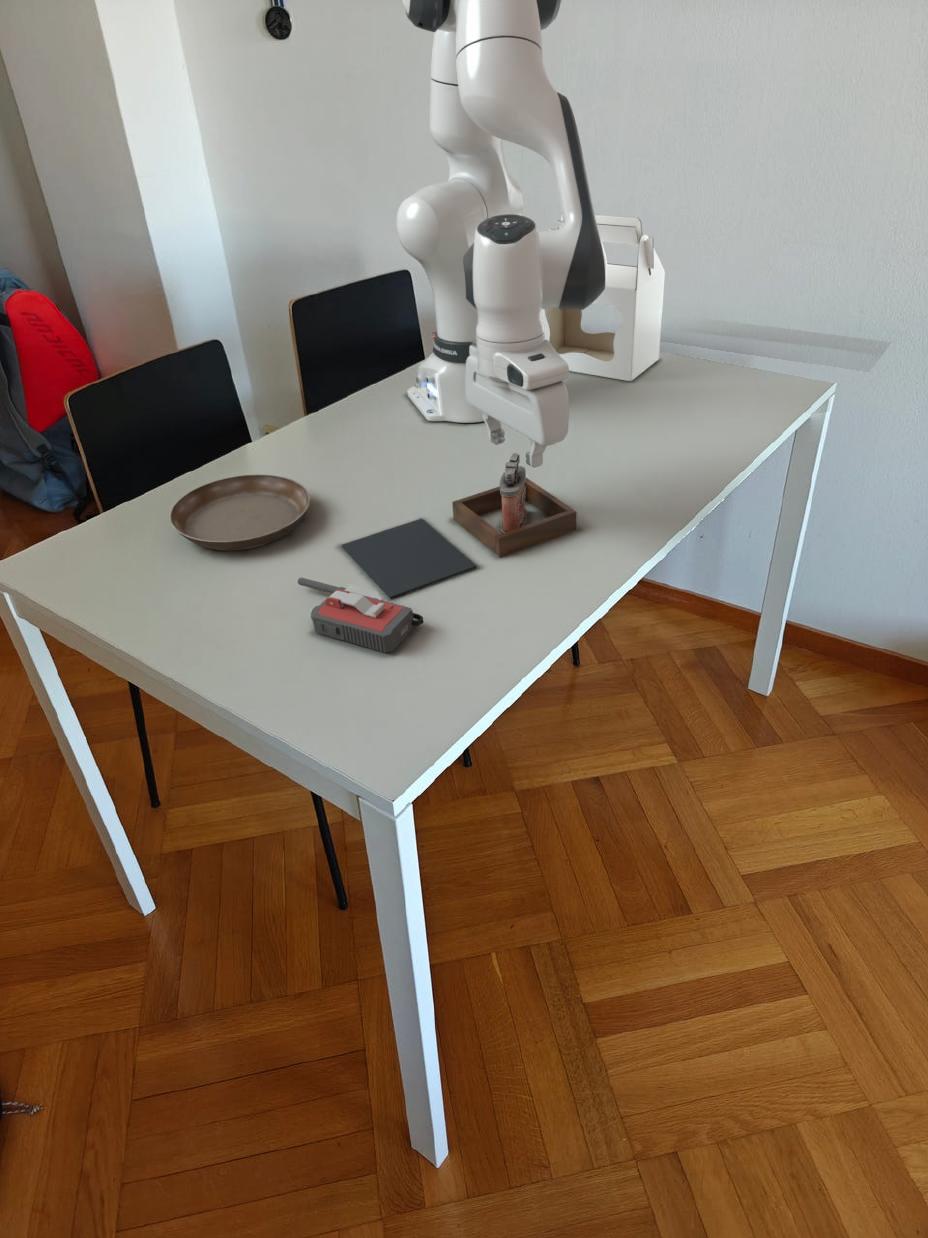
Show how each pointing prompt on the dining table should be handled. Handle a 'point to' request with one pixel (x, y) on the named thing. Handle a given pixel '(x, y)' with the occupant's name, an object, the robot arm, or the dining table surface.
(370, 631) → the walkie-talkie
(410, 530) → the mat
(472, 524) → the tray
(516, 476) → the lighter
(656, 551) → the dining table surface
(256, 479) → the plant saucer
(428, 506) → the dining table surface
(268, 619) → the dining table surface
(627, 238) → the gable box
